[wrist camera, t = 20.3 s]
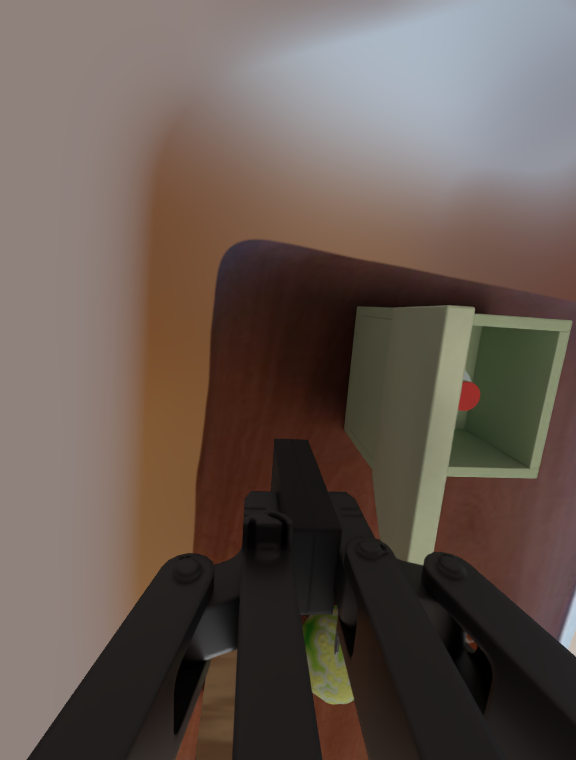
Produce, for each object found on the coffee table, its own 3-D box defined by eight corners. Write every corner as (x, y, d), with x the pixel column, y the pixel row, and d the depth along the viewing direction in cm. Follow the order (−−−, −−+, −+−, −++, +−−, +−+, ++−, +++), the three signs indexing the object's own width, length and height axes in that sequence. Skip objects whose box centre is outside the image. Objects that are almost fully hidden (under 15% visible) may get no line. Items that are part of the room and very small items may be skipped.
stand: (211, 633, 49) (191, 787, 33) (283, 636, 50) (297, 786, 35) (203, 692, 51) (181, 863, 35) (273, 693, 52) (282, 860, 37)
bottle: (391, 370, 43) (432, 390, 33) (425, 347, 42) (477, 360, 33) (410, 402, 44) (456, 431, 34) (444, 380, 43) (499, 402, 34)
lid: (476, 306, 13) (446, 304, 13) (416, 654, 16) (393, 649, 16) (406, 308, 29) (393, 307, 29) (383, 478, 32) (371, 477, 32)
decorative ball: (304, 580, 49) (317, 650, 39) (372, 595, 50) (400, 665, 40) (282, 640, 50) (289, 721, 41) (348, 652, 52) (370, 733, 42)
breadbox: (486, 315, 43) (573, 320, 32) (465, 434, 46) (537, 478, 35) (356, 306, 42) (397, 307, 30) (343, 429, 45) (375, 475, 33)
